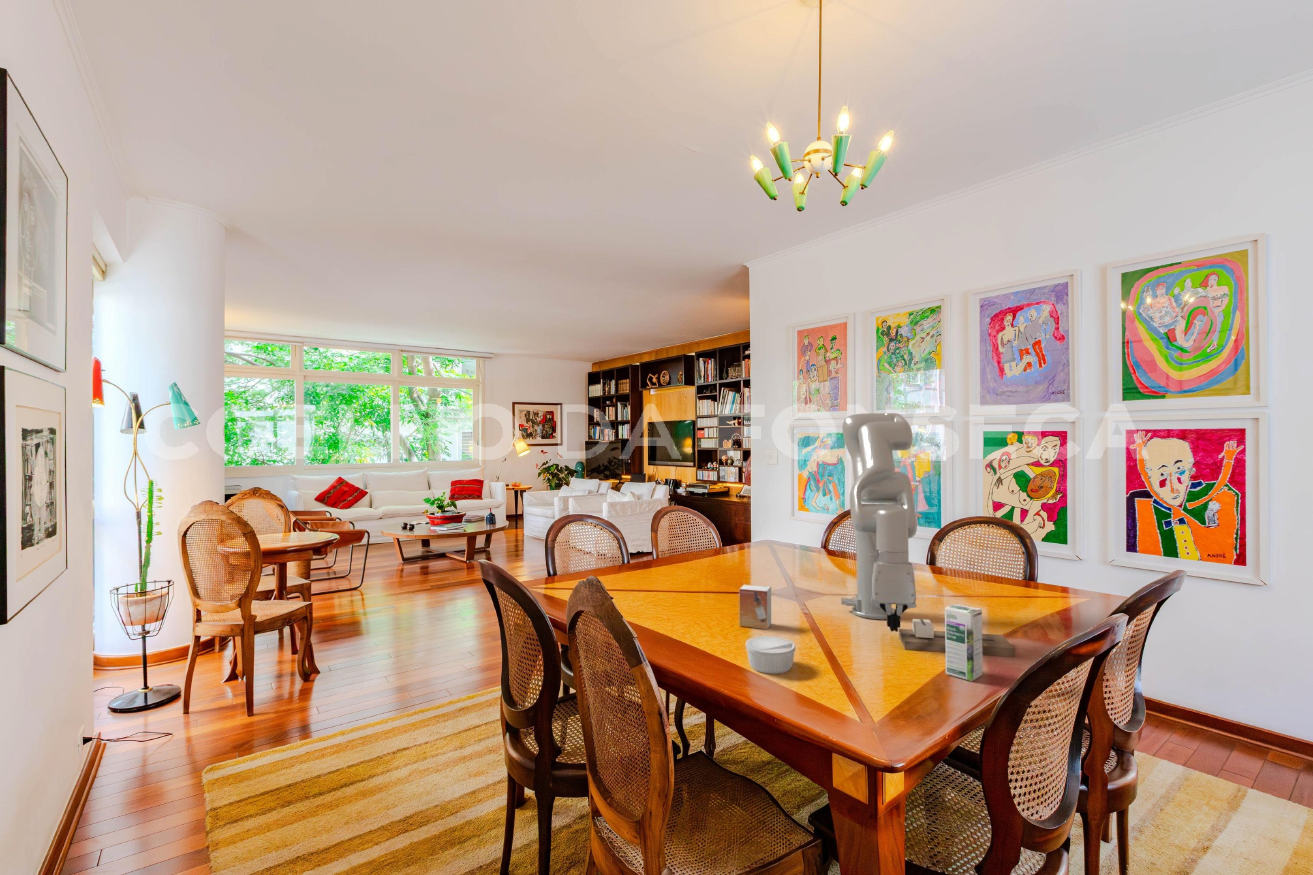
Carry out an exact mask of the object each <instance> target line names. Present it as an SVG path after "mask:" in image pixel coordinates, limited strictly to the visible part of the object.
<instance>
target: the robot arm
mask: <svg viewBox="0 0 1313 875" xmlns="http://www.w3.org/2000/svg"><path fill="white" fill-rule="evenodd" d="M842 437H843V441H844V444H845V447H846V450H847V452H848V454H849V456H850V459H851V462H852V474H853V484H852V486H851V489H850V492H849V509H850V510H849V511H850V518H851V519H850V520H851V524H852V526H853V531H854V535H855V536H854V537H855V546H856V549H855V550H856V552H855V553H856V590H857V591H856V594H855V597H852V598H848V597H840V604H841V605H845V606H846V607H851V612H852V614H854V615H855V616H857V617H860V618H864V619H871V620H886V626H887V627H888V628H889V630H890V632H896V633H897V632H898V633H899V629H901V616H902V614H904V612H905V611H907V610H909V609H910V610H911V609H915V608H917V592H916V591H917V590H916V578H915V572H914V566H913V563H912V562H911V561H909V555H910V554H909V539H912V538H913V537H915V535H916V533H917V530H918V521H917V513H916V508H915V498H914V492H913V486H912V485H913V484H912V481H911V479H910V477H909V476H908V475H907V473H905V472H902V471H896V466H895V460H894V455H893V451H895V452H896V451H908V450H910V449H911V447H912V446H913V442H914V437H913V431H912V428H911V425H910V423H909V422H908V421H907V420H906V419H905V418H904V416H903V415H901V414H900V413H896V412H893V413H891V412H889V413H888V412H885V413H884V412H883V413H882V412H881V413H878V412H877V413H870V412H869V413H855V414H851V415H849V416H847V417H845V418H844V420H843V423H842ZM893 605H895V608H893V607H892V606H893Z"/></svg>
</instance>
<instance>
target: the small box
mask: <svg viewBox="0 0 1313 875" xmlns="http://www.w3.org/2000/svg"><path fill="white" fill-rule="evenodd" d="M738 596H739V597H738V599H739V603H738V604H739V608H738V610H739V615H738V616H739V617H738V618H739V619H738V620H739V622H738V623H739V624H738V625H739V627H747V628H754V629H760V628H761V630H762V629H763V630H768V629H769V628H770V626H771V625H772V586H762V585H751V584H743V585H742V586H741V587H740V588H739V591H738Z"/></svg>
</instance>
